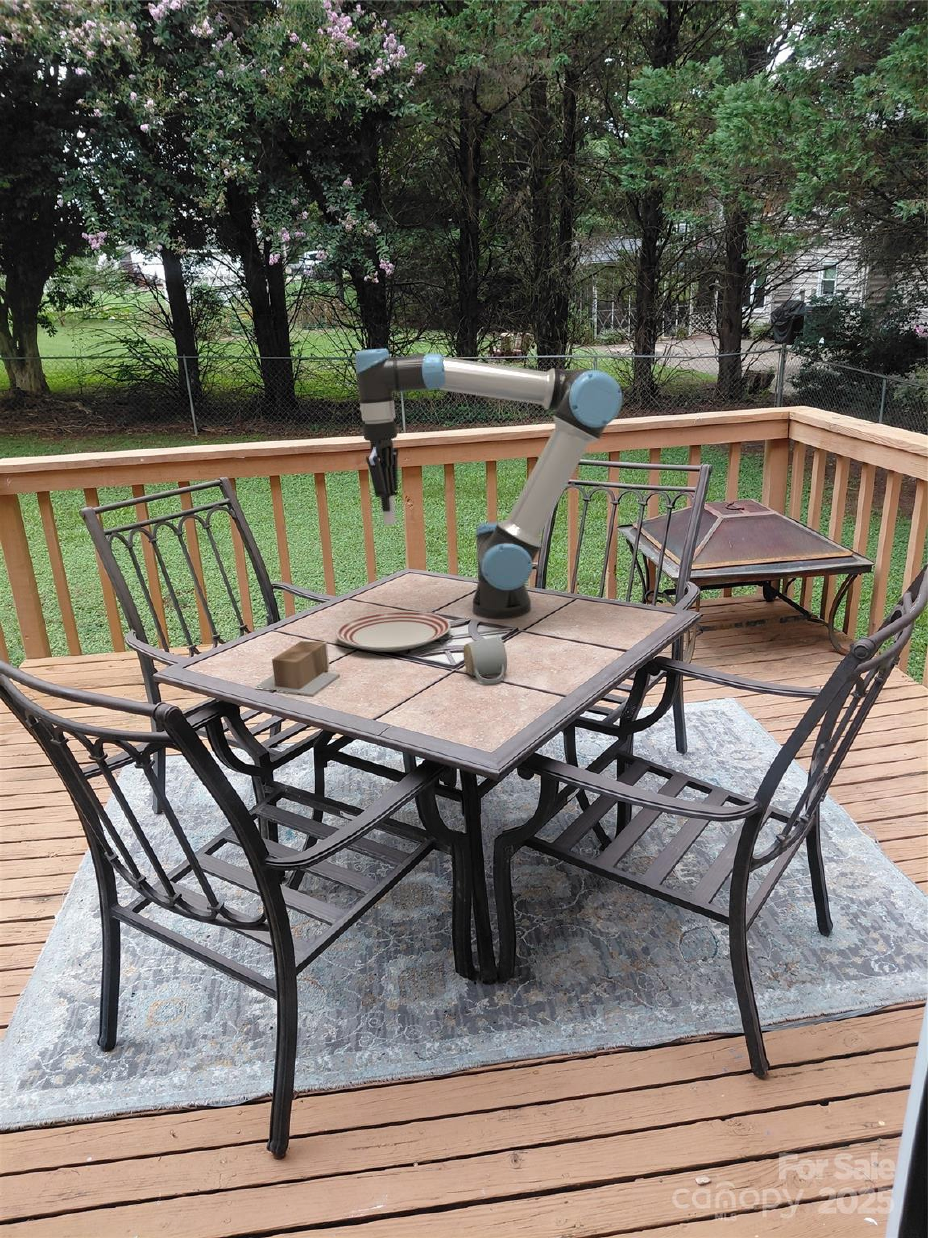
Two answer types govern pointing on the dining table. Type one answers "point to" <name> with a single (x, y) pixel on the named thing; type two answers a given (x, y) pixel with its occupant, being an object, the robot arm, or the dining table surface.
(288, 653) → the walnut block
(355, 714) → the dining table surface
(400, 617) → the dinner plate
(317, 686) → the grey mat
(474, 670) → the ceramic mug
